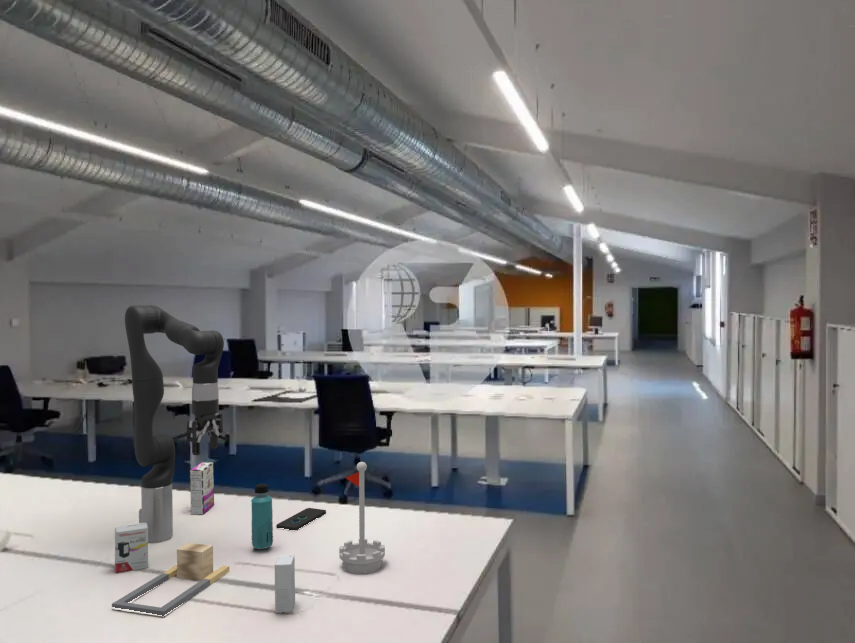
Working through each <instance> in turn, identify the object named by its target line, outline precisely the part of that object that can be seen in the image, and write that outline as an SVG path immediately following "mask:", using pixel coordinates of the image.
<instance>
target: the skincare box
mask: <svg viewBox="0 0 855 643" xmlns="http://www.w3.org/2000/svg"><path fill="white" fill-rule="evenodd" d="M295 561H296V560H295V555H294V554H284V555H283V554H282V555H281V554H280V555H277V557H276V560H275V564H274V613H275V614H280V613H281V614H282V612H285V613H293V610H294V606H295V602H296V578H295V577H296V576H295V575H296V571H295V568H296V567H295V563H296V562H295Z"/></svg>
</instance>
